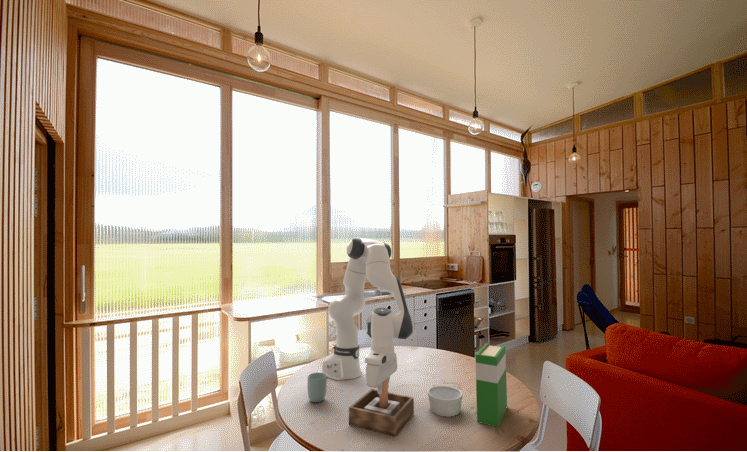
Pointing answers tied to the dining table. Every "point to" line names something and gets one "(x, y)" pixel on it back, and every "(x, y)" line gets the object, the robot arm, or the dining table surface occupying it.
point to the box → (381, 413)
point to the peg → (384, 395)
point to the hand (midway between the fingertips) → (383, 391)
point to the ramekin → (445, 400)
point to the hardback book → (491, 384)
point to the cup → (317, 386)
